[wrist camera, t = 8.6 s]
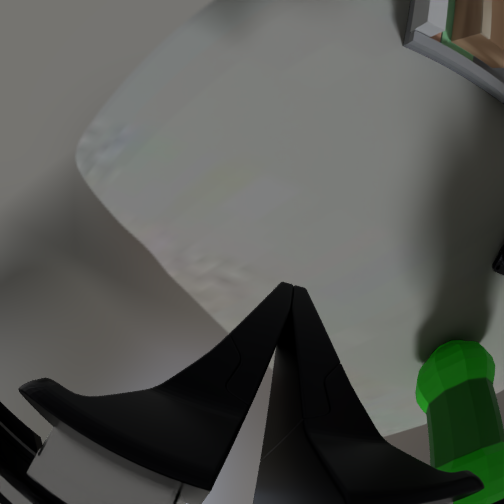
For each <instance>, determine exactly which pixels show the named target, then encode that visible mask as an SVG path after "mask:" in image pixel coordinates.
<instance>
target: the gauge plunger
mask: <svg viewBox="0 0 504 504" xmlns="http://www.w3.org/2000/svg"><path fill="white" fill-rule="evenodd" d="M451 42H452V43H454V44H456V45H457V46H459V47H461V48H462V49H464V50H466V51H467V52H469V53H470V54H472V55H474V56H475V57H477V58H478V59H480V60H481V61H483V62H484V63H485V64H487V65H488V66H490V67H491V68H504V0H455V12H454V22H453V30H452V38H451Z"/></svg>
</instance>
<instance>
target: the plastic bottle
mask: <svg viewBox="0 0 504 504" xmlns="http://www.w3.org/2000/svg"><path fill="white" fill-rule="evenodd" d="M494 375H495V364H494V361H493V358H492V356H491V355H490V354H489V353H488V352H487V351H486V350H485V349H484V347H482V346H481V345H480V344H479V343H478V342H475V341H463V340H451V341H449V342H447V343H445V344H443V345H441V346H439V347H438V348H437V349H436V350H435V351H434V352H433V353H432V354H431V355H430V358H429V359H428V360H427V361H426V362H425V363H424V365H423V366H422V367H421V369H420V370H419V374H418V379H417V386H416V401H417V403H418V404H419V406H420V408H421V409H422V410H423V411H424V412H425V413H426V414H427V423H428V433H429V445H430V463H431V466H432V467H434V468H436V469H438V470H441V471H445V472H459V471H464V470H468V471H470V472H472V473H474V474H475V475H477V476H478V477H479V478H480V479H481V481H482V482H483V484H484V489H483V490H481V491H479V492H477V493H475V494H472V495H470V496H468V497H465V498H463V499H460V500H457V501H455V502H453V504H492V503H494V502H496V501H499V500H501V499H503V498H504V429H503V424H502V419H501V415H500V411H499V406H498V403H497V398H496V395H495V391H494V388H493V381H494Z"/></svg>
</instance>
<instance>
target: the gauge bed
mask: <svg viewBox="0 0 504 504" xmlns="http://www.w3.org/2000/svg"><path fill="white" fill-rule="evenodd" d="M454 12H455V0H411V2H410V9H409V16H408V22H407V28H406V34H405V39H404V44H403V46H404V47H407V48H409V49H411V50H413V51H416V52H418V53H420V54H422V55H424V56H426V57H428V58H430V59H432V60H434V61H436V62H438V63H440V64H442V65H444V66H446V67H447V68H449V69H451V70H453V71H455V72H456V73H458V74H460V75H461V76H463V77H465V78H466V79H468V80H470V81H471V82H473V83H474V84H476V85H477V86H479V87H480V88H482V89H483V90H485V91H486V92H488V93H489V94H491V95H492V96H493V97H495V98H496V99H498V100H499V101H500V102H502V103H503V104H504V68H491V67H490V66H488V65H487V64H485V63H484V62H483V61H481V60H480V59H478V58H477V57H475V56H474V55H472V54H470V53H469V52H467V51H466V50H464V49H462V48H461V47H459V46H457V45H456V44H454V43H452V42H451V38H452V30H453V22H454Z"/></svg>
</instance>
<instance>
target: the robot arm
mask: <svg viewBox="0 0 504 504" xmlns="http://www.w3.org/2000/svg"><path fill="white" fill-rule="evenodd" d="M492 268H493V269H494V271H495V272H497V273H499V274H502V275H504V245H503V247H502V249H501V251H500V252H499V254H498V256H497V258H496V260H495V261H494V263H493V266H492ZM275 348H276V351H275ZM274 351H275V360H274V368H273V376H272V383H271V391H270V398H269V406H268V413H267V420H266V427H265V433H264V440H263V446H262V453H261V459H260V461H261V462H260V465H259V471H258V477H257V483H256V489H255V494H254V500H253V504H453V502H455V501H457V500H460V499H463V498H465V497H468V496H470V495H472V494H475V493H477V492H479V491H481V490H483V489H484V484H483V482H482V481H481V479H480V478H479V477H478V476H477V475H475V474H474V473H472V472H470V471H468V470H464V471H459V472H445V471H441V470H438V469H436V468H434V467H432V466H430V465H428V464H426V463H424V462H422V461H420V460H418V459H416V458H414V457H412V456H411V455H409V454H407V453H405V452H403V451H401V450H400V449H398V448H396V447H394V446H393V445H391V444H389V443H388V442H387V441H386V440H385V439H384V438H383V437H382V436H381V435H380V433H379V432H378V430H377V429H376V427H375V426H374V424H373V422H372V420H371V419H370V417H369V415H368V414H367V412H366V410H365V408H364V407H363V405H362V403H361V402H360V400H359V398H358V396H357V395H356V393H355V391H354V389H353V387H352V386H351V384H350V381H349V379H348V377H347V375H346V373H345V371H344V369H343V367H342V364H340V360H339V358H338V356H337V354H336V351H335V349H334V347H333V345H332V343H331V340H330V338H329V336H328V334H327V332H326V330H325V327H324V325H323V323H322V321H321V319H320V317H319V315H318V313H317V310H316V308H315V306H314V304H313V302H312V300H311V298H310V296H309V294H308V292H307V290H306V288H303V287H300V286H296V285H295V286H294V287H293V285H292V284H289V283H285V282H281V283H280V284H279V285H278V286H277V287H276V288H275V289H274V290H273V291H272V292H271V293H270V294H269V295H268V296H267V297H266V298H265V299H264V300H263V301H262V302H261V303H260V304H259V305H258V306H257V307H256V308H255V309H254V310H253V311H252V312H251V313H250V314H249V315H248V316H247V317H246V318H245V319H244V320H243V321H242V322H241V323H240V324H239V325H238V326H237V327H236V328H235V329H234V330H233V331H231V332H230V333H229V335H227V336H226V337H225V338H224V339H223V340H222V341H221V342H220V343H219V344H218V345H216V346H215V347H214V348H213V349H212V350H211V351H209V352H208V353H207V354H205V355H204V356H203V357H201V358H200V359H199V360H197V361H196V362H194V363H193V364H191V365H190V366H188V367H187V368H185V369H184V370H182V371H181V372H179V373H178V374H176V375H175V376H173V377H172V378H170V379H169V380H167V381H165V382H164V383H162V384H160V385H158V386H155V387H153V388H150V389H146V390H140V391H134V392H127V393H120V394H113V395H104V396H82V395H79V394H75V393H73V392H71V391H69V390H68V389H66V388H64V387H63V386H61V385H60V384H58V383H57V382H55V381H54V380H52V379H49V378H41V379H37V380H32V381H30V382H27V383H25V384H24V385H22V386H21V387H20V388H19V392H20V393H21V394H22V395H23V397H24V398H25V399H26V400H27V401H28V402H29V403H30V404H31V405H32V406H33V407H34V408H35V409H36V410H37V411H38V412H39V413H40V414H41V415H42V416H43V417H44V418H45V419H46V420H47V421H48V422H49V423H50V424H51V425H53V428H52V430H51V432H50V433H49V435H48V437H47V439H46V440H45V442H44V444H43V445H42V441H41V437H40V436H38V435H37V434H36V433H35V432H33V431H32V430H31V429H30V428H28V427H27V426H26V425H25V424H24V423H23V422H22V421H20V420H19V419H18V418H17V417H16V416H15V415H14V414H13V413H12V412H11V411H9V410H8V409H7V408H6V407H5V406H4V405H3V404H2V403H1V402H0V503H1V504H186V503H188V504H202V502H203V501H204V500H205V498H206V497H207V495H208V494H209V493H210V491H211V490H212V487H213V485H214V483H215V481H216V479H217V477H218V475H219V473H220V471H221V469H222V467H223V465H224V463H225V460H226V458H227V456H228V454H229V452H230V450H231V448H232V446H233V444H234V441H235V439H236V437H237V435H238V433H239V431H240V428H241V426H242V424H243V422H244V420H245V417H246V415H247V413H248V411H249V408H250V406H251V404H252V402H253V400H254V398H255V395H256V393H257V391H258V388H259V386H260V384H261V382H262V379H263V377H264V374H265V372H266V370H267V367H268V365H269V363H270V360H271V358H272V355H273V353H274ZM492 504H504V498H503V499H501V500H499V501H496V502H494V503H492Z"/></svg>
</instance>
